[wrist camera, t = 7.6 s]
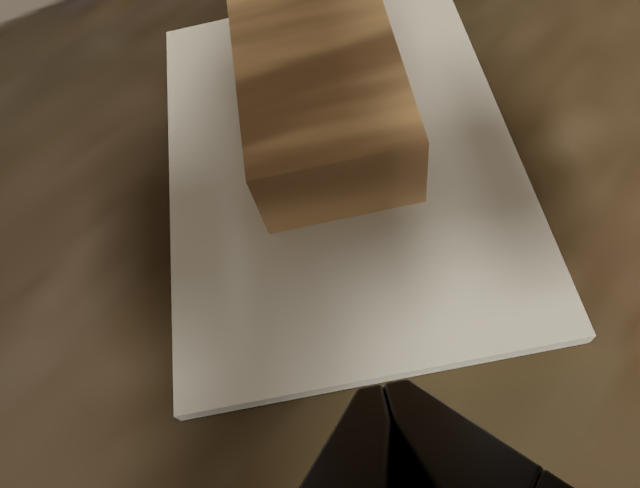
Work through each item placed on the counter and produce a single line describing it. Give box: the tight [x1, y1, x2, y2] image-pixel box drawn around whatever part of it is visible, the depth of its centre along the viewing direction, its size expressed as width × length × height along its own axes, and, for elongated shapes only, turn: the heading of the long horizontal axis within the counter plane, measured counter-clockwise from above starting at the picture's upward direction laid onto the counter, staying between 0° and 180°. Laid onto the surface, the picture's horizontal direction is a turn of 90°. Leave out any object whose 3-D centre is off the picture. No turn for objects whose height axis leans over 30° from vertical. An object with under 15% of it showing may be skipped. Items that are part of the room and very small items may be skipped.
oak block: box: [227, 0, 429, 234], centre depth 25 cm, size 4×7×12 cm
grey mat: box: [166, 0, 596, 421], centre depth 26 cm, size 22×16×1 cm
